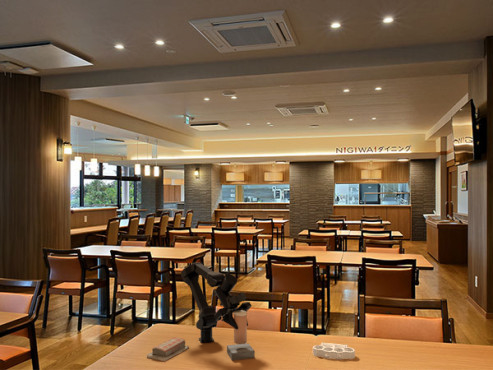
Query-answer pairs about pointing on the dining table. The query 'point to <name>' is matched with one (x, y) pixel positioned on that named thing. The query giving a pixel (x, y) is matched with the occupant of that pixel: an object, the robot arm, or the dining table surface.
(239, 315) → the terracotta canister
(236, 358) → the riser block
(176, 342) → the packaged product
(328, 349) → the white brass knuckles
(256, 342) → the dining table surface
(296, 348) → the dining table surface
